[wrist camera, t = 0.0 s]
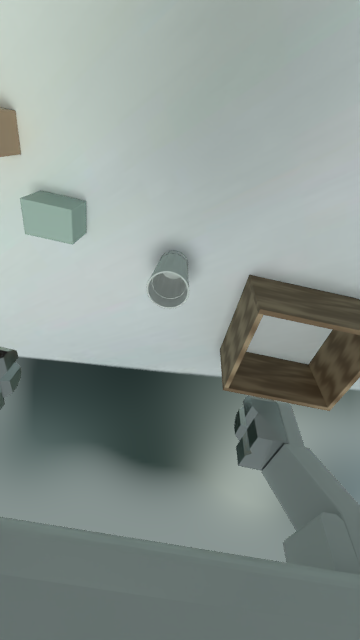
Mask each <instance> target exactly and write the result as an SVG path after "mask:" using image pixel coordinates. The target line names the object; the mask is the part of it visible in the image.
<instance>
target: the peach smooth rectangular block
mask: <svg viewBox="0 0 360 640" xmlns="http://www.w3.org/2000/svg"><path fill="white" fill-rule="evenodd" d="M19 154H21V151H20V143H19V136H18V128H17V120H16V113H15V111H14V110H10V109H6V108H2V107H0V157H4V156H11V155H19Z"/></svg>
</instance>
